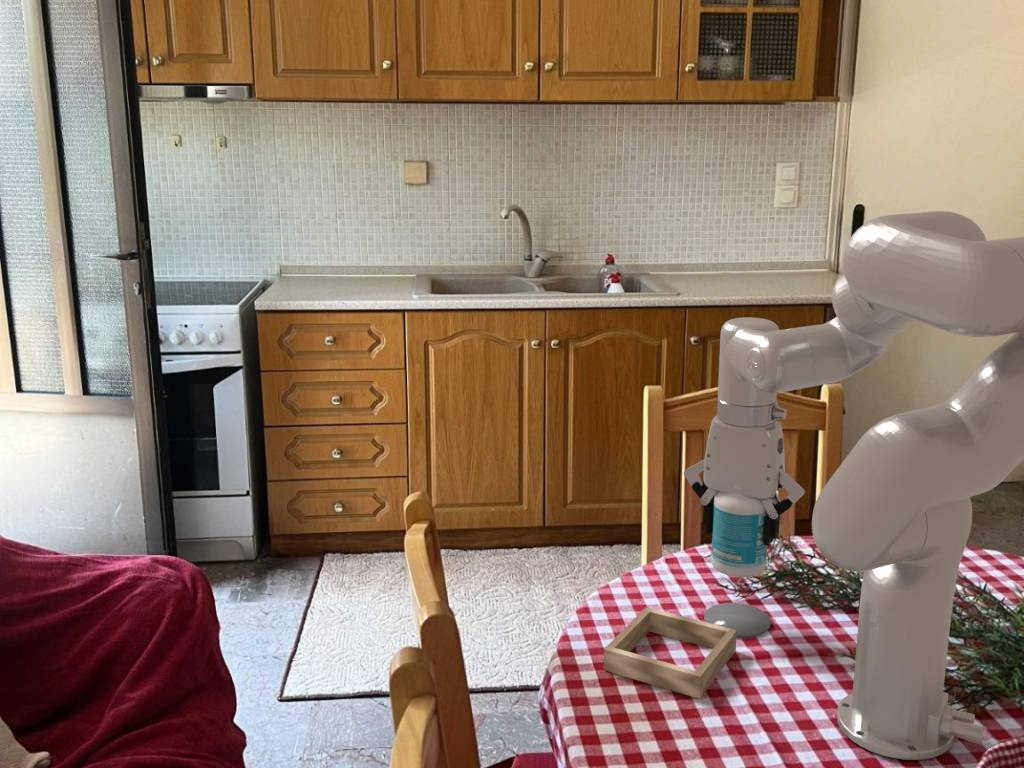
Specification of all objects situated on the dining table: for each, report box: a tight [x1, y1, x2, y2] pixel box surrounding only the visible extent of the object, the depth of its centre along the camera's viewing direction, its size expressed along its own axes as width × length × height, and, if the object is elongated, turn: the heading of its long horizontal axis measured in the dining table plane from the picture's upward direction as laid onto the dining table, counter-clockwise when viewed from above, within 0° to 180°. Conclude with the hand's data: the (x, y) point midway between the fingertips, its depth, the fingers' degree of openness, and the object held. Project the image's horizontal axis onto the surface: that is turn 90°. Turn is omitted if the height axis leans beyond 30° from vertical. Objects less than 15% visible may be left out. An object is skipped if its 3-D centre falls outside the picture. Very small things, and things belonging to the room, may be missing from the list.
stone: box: [703, 602, 771, 639], centre depth 140 cm, size 9×9×1 cm
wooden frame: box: [603, 606, 738, 700], centre depth 130 cm, size 13×13×3 cm
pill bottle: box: [710, 485, 768, 578], centre depth 136 cm, size 8×7×14 cm
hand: (739, 534), depth 136 cm, fingers closed on pill bottle, 7 cm apart
